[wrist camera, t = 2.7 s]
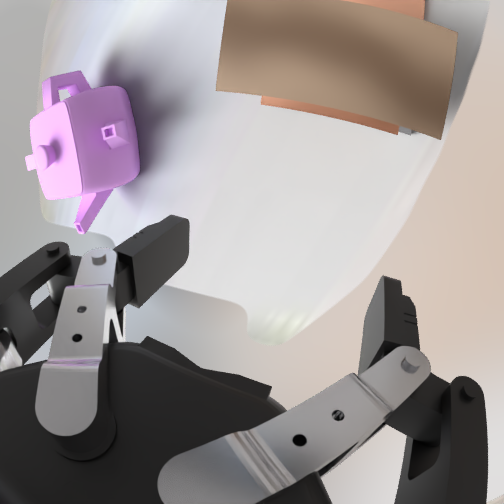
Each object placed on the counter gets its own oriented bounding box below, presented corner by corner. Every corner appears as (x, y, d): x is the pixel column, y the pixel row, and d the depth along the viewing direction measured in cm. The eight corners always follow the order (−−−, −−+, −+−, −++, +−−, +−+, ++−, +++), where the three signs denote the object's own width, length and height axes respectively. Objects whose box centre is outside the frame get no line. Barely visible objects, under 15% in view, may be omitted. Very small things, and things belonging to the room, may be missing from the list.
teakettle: (96, 63, 34) (26, 69, 23) (172, 120, 34) (98, 136, 24) (64, 152, 43) (6, 174, 33) (125, 213, 44) (66, 249, 34)
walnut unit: (287, 33, 25) (214, -20, 12) (422, 62, 22) (476, 24, 8) (277, 102, 29) (198, 106, 16) (409, 134, 26) (453, 164, 12)
